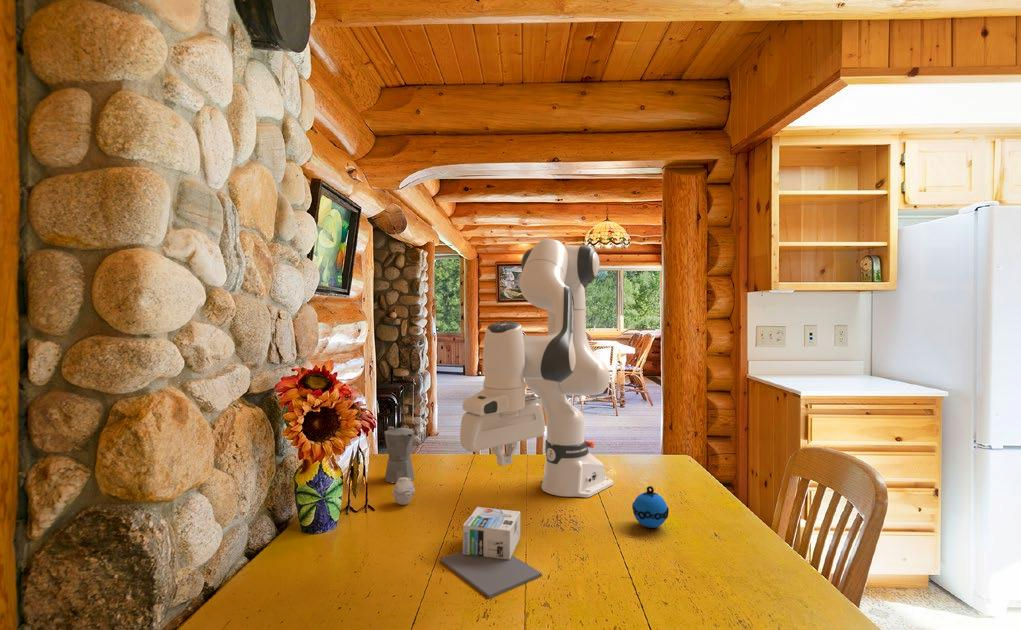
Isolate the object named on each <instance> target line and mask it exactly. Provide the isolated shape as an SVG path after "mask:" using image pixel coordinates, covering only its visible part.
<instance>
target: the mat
mask: <svg viewBox="0 0 1021 630" xmlns="http://www.w3.org/2000/svg"><path fill="white" fill-rule="evenodd" d="M439 560H440V561H439V562H440V563H441V564H443V563H444V564H443V565H444V566H446V567H447V568H449V569H450V570H452V571H453V572H454V573H455V574H457V576H459V577H460V578H461V579H463V580H464V581H466V582H467V583H469V584H470V585H471V586H473V587H474V588H475V589H476V590H478V591H479V592H481V593H482V595H484V596H486V597H487V598H488V599H491V598H494V597H496V596H499V595H500V594H503V593H505V592H508V591H510V590H512V589H515V588H517V587H519V586H521V585H524V584H527V583H528V582H531V581H533V580H536V579H538V578H540V577H542V576H543V575H542V572H540V571H539V570H538V569H535V568H534V567H532V566H531V565H530V564H527V563H526V562H525V561H523V560H521V559H519V558H518V557H516V556H515V555H513V554H512V556H511V558H510V560H507V559H499V558H491V557H483V556H475V555H467V554H463V552H462V550H461V551H457V552H455V553H451V554H449V555H446V556H443V557H440V559H439Z"/></svg>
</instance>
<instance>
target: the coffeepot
mask: <svg viewBox="0 0 1021 630" xmlns="http://www.w3.org/2000/svg"><path fill="white" fill-rule="evenodd" d="M402 425H403V421H397V422H396V426H397V427H394V426H390V425H386V426H385V427H384V429H383V438H384V444H385V448H386V451H387V454H388V459H387V461H386V462H387V463H386V467H385V468H386V469H385V475H384V479H386V480H385V482H386V481H387V482H386V483H388V482H393V483H396V482H397V481H398V479H399V478H403V477H407V478H411V480H412V479H413V480H414V479H415V473H414V472H415V471H414V467H413V462H412V461H413V460H412V458H411V453H413V445H414V437H415V431H414V429H413V428H407V427H402ZM413 480H412V481H413Z"/></svg>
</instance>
